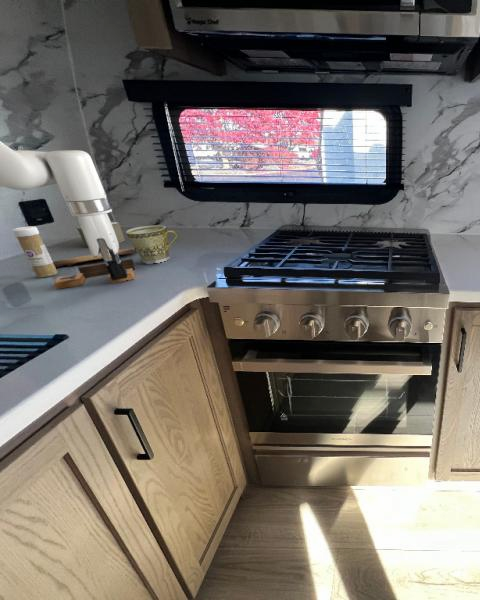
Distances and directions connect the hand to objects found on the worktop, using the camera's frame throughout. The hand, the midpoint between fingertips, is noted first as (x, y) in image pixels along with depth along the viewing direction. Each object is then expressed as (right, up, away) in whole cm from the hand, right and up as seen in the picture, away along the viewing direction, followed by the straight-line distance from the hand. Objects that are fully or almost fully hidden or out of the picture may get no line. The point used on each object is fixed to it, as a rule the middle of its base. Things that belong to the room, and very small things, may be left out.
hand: (120, 278), depth 87 cm
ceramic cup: (-1, +6, +17) cm, 18 cm away
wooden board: (-24, +7, +19) cm, 31 cm away
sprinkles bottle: (-26, +1, +7) cm, 27 cm away
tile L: (-2, 0, +3) cm, 4 cm away
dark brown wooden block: (-10, +2, +8) cm, 13 cm away
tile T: (-13, -2, 0) cm, 13 cm away
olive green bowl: (-36, +15, +36) cm, 53 cm away
